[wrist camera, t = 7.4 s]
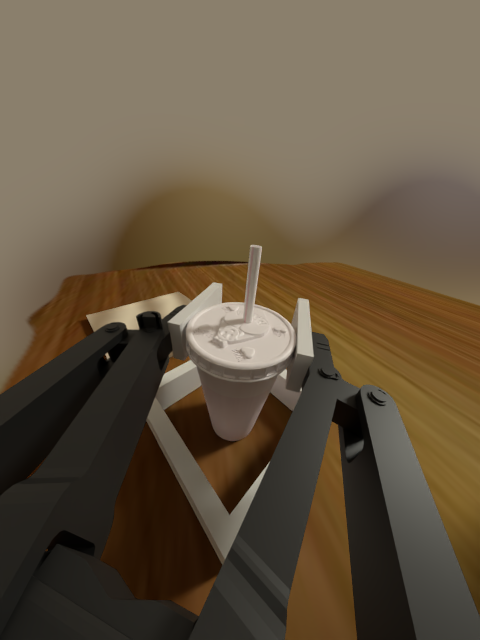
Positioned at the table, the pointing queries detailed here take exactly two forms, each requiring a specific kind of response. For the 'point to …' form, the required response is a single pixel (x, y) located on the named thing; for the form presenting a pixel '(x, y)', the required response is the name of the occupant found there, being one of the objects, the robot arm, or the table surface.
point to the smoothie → (239, 356)
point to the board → (137, 312)
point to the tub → (185, 467)
